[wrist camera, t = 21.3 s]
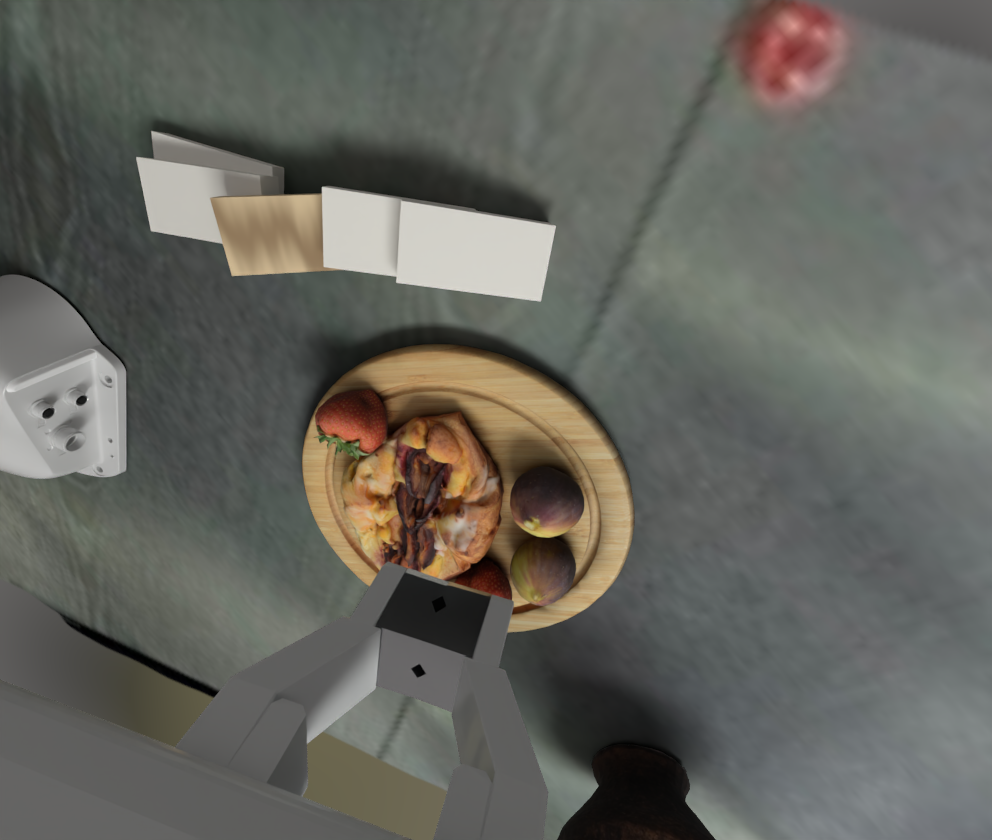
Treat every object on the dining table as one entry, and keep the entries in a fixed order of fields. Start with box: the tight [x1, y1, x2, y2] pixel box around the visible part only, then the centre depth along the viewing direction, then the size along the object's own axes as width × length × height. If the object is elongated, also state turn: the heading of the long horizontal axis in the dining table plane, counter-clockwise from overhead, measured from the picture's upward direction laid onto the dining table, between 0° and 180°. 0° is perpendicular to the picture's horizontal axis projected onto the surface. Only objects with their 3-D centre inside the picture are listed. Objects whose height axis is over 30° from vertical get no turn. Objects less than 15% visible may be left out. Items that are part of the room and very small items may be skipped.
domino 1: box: [151, 131, 284, 194], centre depth 36 cm, size 5×2×10 cm
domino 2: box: [136, 157, 279, 243], centre depth 35 cm, size 5×2×10 cm
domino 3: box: [210, 193, 343, 276], centre depth 33 cm, size 5×2×10 cm
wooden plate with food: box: [302, 344, 634, 632], centre depth 41 cm, size 32×32×8 cm
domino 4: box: [322, 186, 476, 277], centre depth 32 cm, size 5×2×10 cm
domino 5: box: [396, 199, 556, 301], centre depth 31 cm, size 5×2×10 cm
